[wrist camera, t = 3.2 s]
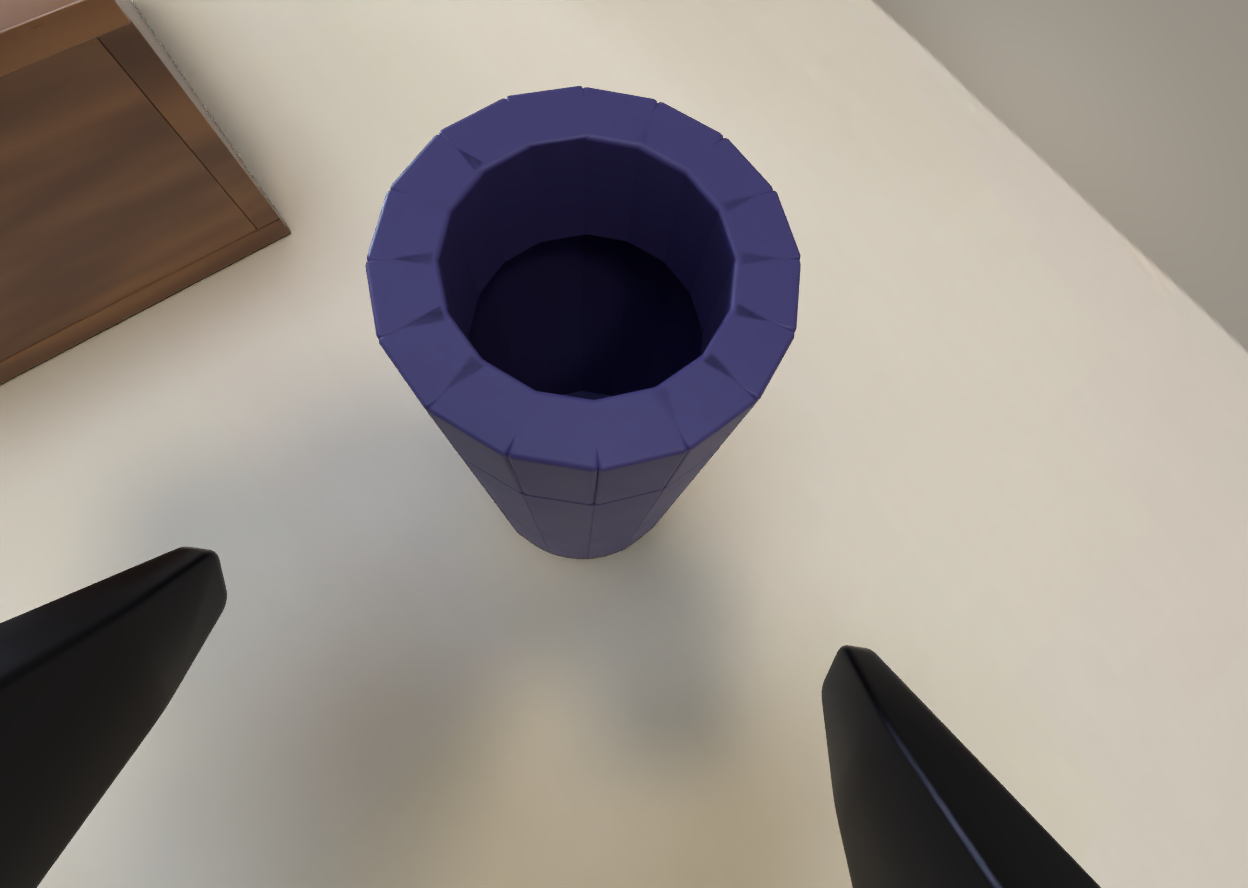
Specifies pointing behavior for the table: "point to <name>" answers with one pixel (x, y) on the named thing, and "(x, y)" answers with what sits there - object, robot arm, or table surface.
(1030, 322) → the table surface
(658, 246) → the purple hollow cylinder
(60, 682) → the robot arm
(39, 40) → the bread box lid
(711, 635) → the table surface
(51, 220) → the bread box
